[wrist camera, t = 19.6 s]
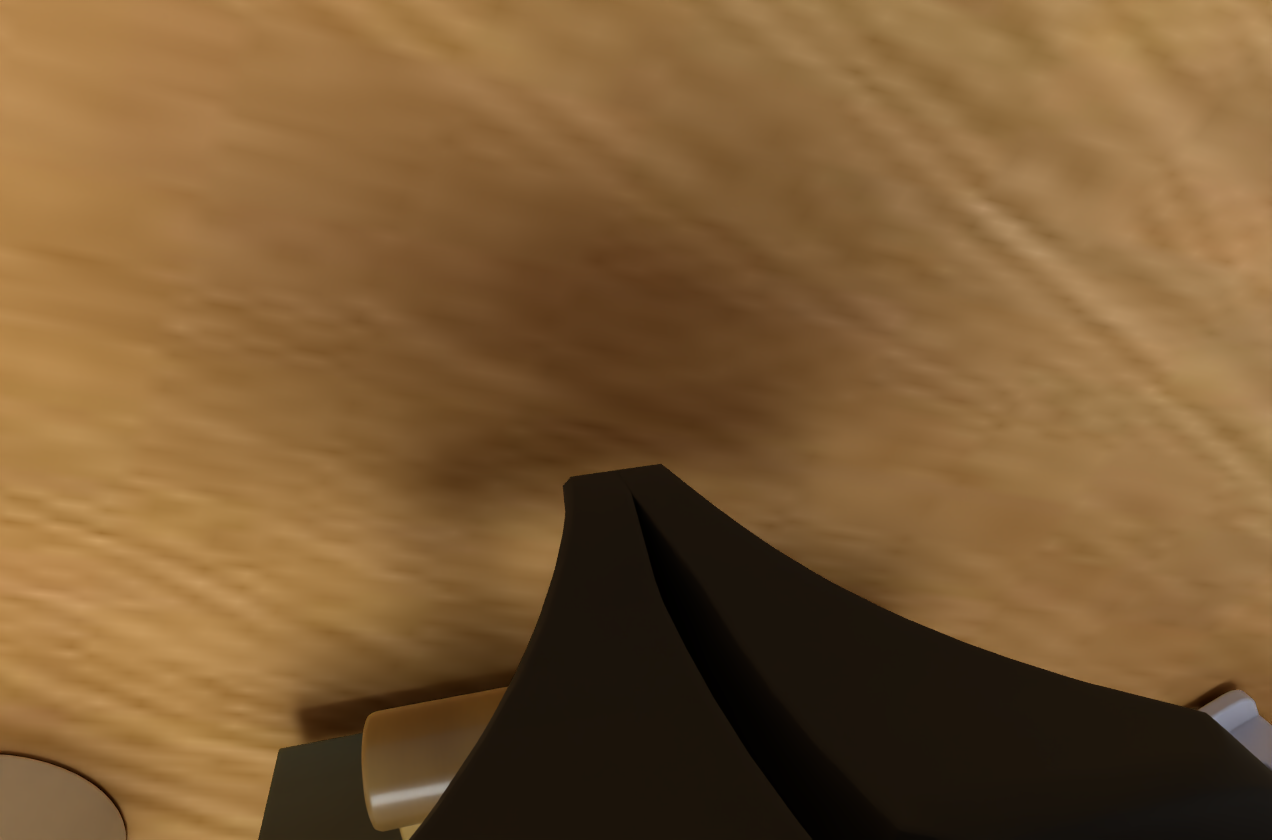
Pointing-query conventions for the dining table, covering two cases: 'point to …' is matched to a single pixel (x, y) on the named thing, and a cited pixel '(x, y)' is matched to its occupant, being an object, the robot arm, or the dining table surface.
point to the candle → (53, 804)
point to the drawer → (376, 772)
